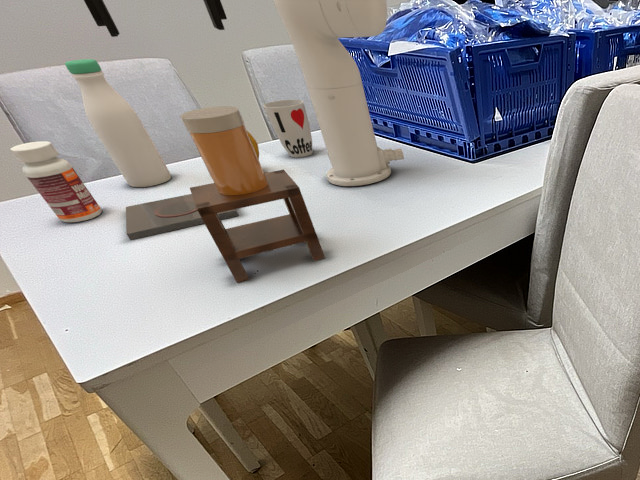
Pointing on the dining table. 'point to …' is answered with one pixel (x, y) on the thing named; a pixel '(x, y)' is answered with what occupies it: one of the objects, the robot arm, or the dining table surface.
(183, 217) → the hob
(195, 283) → the dining table surface
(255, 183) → the honey jar
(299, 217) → the rack
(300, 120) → the cup
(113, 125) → the milk bottle
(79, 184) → the pill bottle
